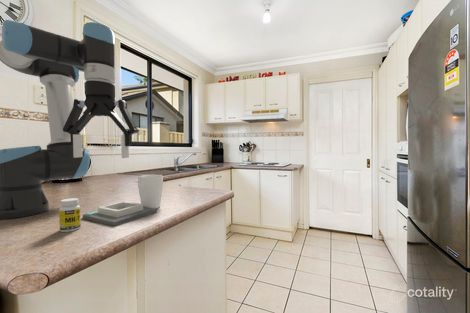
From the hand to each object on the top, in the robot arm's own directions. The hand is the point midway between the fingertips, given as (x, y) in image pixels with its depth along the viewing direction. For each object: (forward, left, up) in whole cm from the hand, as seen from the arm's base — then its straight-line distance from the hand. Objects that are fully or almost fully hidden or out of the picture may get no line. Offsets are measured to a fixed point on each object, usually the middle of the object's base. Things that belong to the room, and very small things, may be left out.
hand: (101, 157), depth 66 cm
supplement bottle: (-6, -6, -20) cm, 22 cm away
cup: (-4, +21, -20) cm, 30 cm away
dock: (-5, +9, -20) cm, 23 cm away
